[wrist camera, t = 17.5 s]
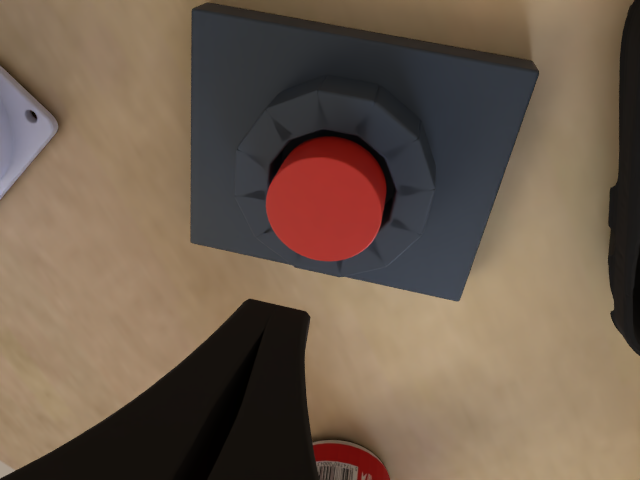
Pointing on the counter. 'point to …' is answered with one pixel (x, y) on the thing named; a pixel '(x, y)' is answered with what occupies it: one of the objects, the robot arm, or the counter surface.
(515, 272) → the counter surface
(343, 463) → the beverage can
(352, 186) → the power button
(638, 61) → the egg carton
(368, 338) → the counter surface
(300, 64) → the switch block
